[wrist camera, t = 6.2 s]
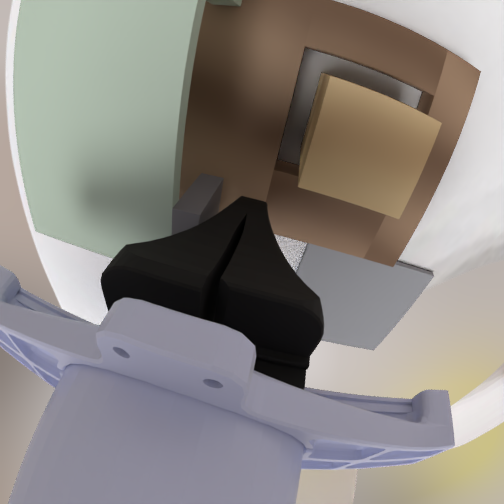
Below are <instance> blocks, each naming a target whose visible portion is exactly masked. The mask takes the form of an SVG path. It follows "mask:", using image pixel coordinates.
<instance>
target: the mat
mask: <svg viewBox="0 0 504 504" xmlns="http://www.w3.org/2000/svg"><path fill="white" fill-rule="evenodd" d="M296 274H297V275H298V276H299V277H300V278H301V279H302V281H303V282H304V283H305V284H306V285H307V286H308V287H309V288H310V289H312V290H313V291H314V292H315V293H316V294H317V295H318V296H319V297H320V300H321V305H322V310H323V317H324V334H323V337H322V339H321V340H322V341H327V342H332V343H337V344H342V345H347V346H353V347H358V348H364V349H369V350H374V349H375V348H376V347H377V346H378V345H379V344H380V343H381V342H382V341H383V339H384V338H385V337H386V336H387V335H388V334H389V333H390V331H391V330H392V329H393V328H394V327H395V326H396V324H397V323H398V322H399V321H400V320H401V318H402V317H403V316H404V315H405V314H406V312H407V311H408V310H409V309H410V307H411V306H412V304H413V303H414V302H415V301H416V299H417V298H418V297H419V296H420V294H421V293H422V292H423V290H424V289H425V288H426V286H427V285H428V284H429V282H430V281H431V279H432V278H433V277H434V275H433V273H432V272H430V271H427V270H424V269H421V268H417V267H414V266H411V265H408V264H405V263H401V262H398V261H397V262H396V263H395V265H394V267H391V266H387V265H384V264H380V263H377V262H373V261H370V260H367V259H363V258H360V257H356V256H353V255H349V254H345V253H342V252H338V251H335V250H331V249H328V248H324V247H320V246H317V245H313V244H310V243H308V244H307V246H306V249H305V252H304V254H303V257H302V259H301V262H300V264H299V267H298V269H297V272H296Z"/></svg>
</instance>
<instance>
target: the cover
mask: <svg viewBox="0 0 504 504" xmlns="http://www.w3.org/2000/svg"><path fill="white" fill-rule="evenodd" d="M206 1H207V2H209V3H211V4H213V5H228V6H239V7H241V3H242V0H21V4H20V9H19V15H18V22H17V30H16V39H15V50H14V71H13V94H14V115H15V128H16V137H17V146H18V153H19V160H20V166H21V172H22V177H23V182H24V187H25V192H26V196H27V200H28V205H29V209H30V213H31V216H32V220H33V224H34V227H35V231H36V232H39V233H42V234H44V235H47V236H50V237H53V238H55V239H58V240H61V241H64V242H67V243H69V244H72V245H75V246H78V247H81V248H84V249H87V250H89V251H92V252H95V253H98V254H101V255H104V256H107V257H110V258H113V259H114V257H115V256H116V255H117V253H118V252H119V251H120V250H121V249H122V248H123V247H124V246H125V245H126V244H134V243H140V242H146V241H151V240H156V239H160V238H164V237H167V236H171V235H174V234H177V233H179V232H182V231H185V230H188V229H190V228H192V227H195V226H197V225H199V224H201V223H203V222H204V221H206V220H208V219H209V218H211V217H213V216H214V215H216V214H218V213H219V206H220V199H221V193H222V186H223V180H224V178H222V177H217V176H213V175H208V174H204V173H201V174H200V175H199V176H198V178H197V179H196V180H195V181H194V182H193V184H192V185H191V186H190V187H189V188H188V190H187V191H186V192H185V193H184V194H183V196H182V197H181V198H180V199H179V191H180V177H181V164H182V153H183V142H184V132H185V123H186V115H187V107H188V99H189V91H190V84H191V78H192V71H193V65H194V59H195V53H196V47H197V42H198V36H199V31H200V26H201V21H202V16H203V11H204V7H205V2H206Z"/></svg>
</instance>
